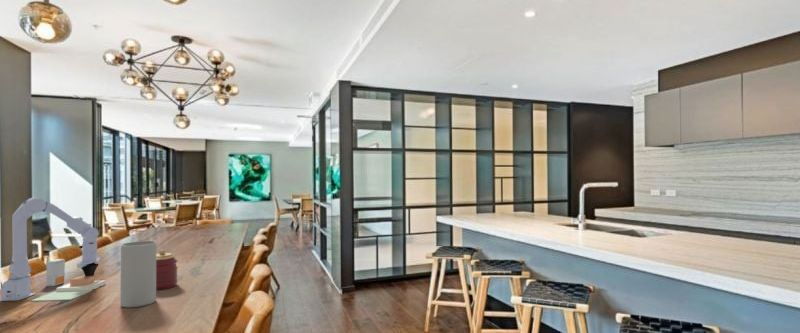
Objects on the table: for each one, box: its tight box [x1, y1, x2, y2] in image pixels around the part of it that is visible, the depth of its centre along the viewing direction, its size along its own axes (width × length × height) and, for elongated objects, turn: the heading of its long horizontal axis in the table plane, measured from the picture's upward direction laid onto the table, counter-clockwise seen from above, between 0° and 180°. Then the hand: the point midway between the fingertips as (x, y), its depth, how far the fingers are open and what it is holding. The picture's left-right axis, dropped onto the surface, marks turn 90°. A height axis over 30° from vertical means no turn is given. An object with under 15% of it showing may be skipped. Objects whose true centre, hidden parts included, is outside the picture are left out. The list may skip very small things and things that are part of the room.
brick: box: [69, 275, 95, 286], centre depth 193 cm, size 6×7×3 cm
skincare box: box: [45, 258, 66, 287], centre depth 200 cm, size 6×4×12 cm
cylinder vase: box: [119, 240, 157, 309], centre depth 169 cm, size 12×12×25 cm
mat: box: [30, 290, 92, 302], centre depth 180 cm, size 13×16×1 cm
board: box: [55, 280, 106, 292], centre depth 193 cm, size 12×14×2 cm
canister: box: [156, 249, 179, 291], centre depth 195 cm, size 13×13×18 cm
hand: (89, 279), depth 198 cm, fingers closed
